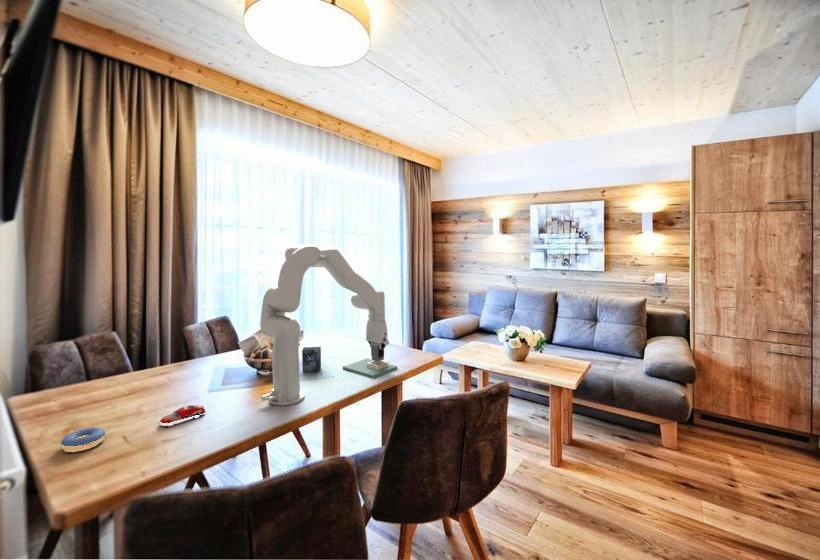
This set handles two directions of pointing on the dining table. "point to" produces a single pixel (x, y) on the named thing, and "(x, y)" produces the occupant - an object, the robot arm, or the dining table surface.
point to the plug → (376, 352)
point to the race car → (183, 413)
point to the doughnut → (93, 436)
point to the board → (370, 367)
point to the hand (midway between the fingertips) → (377, 355)
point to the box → (311, 359)
